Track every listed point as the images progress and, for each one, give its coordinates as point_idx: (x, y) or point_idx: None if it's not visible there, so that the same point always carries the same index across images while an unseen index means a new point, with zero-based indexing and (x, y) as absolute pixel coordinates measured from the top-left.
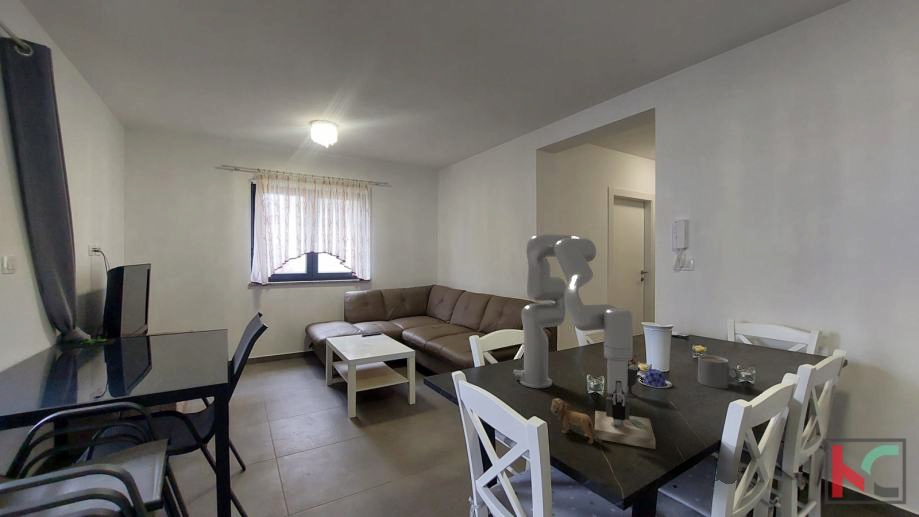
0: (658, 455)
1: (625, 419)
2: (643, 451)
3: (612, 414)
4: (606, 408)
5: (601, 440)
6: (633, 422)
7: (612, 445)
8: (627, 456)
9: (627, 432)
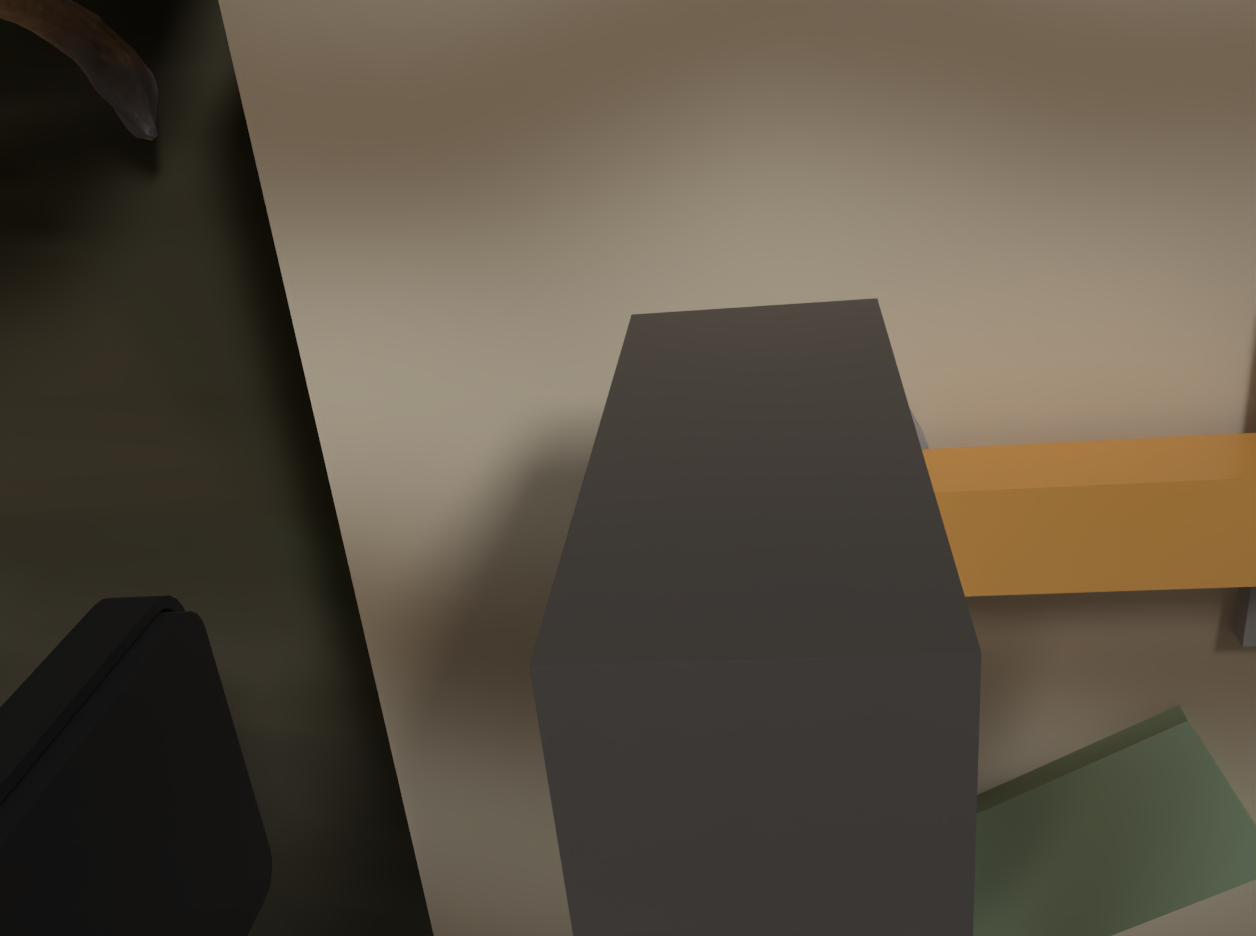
0: (325, 932)
1: (1200, 661)
2: (322, 776)
3: (48, 662)
4: (602, 435)
5: (139, 131)
6: (1026, 816)
7: (222, 332)
8: (4, 566)
9: (495, 680)
